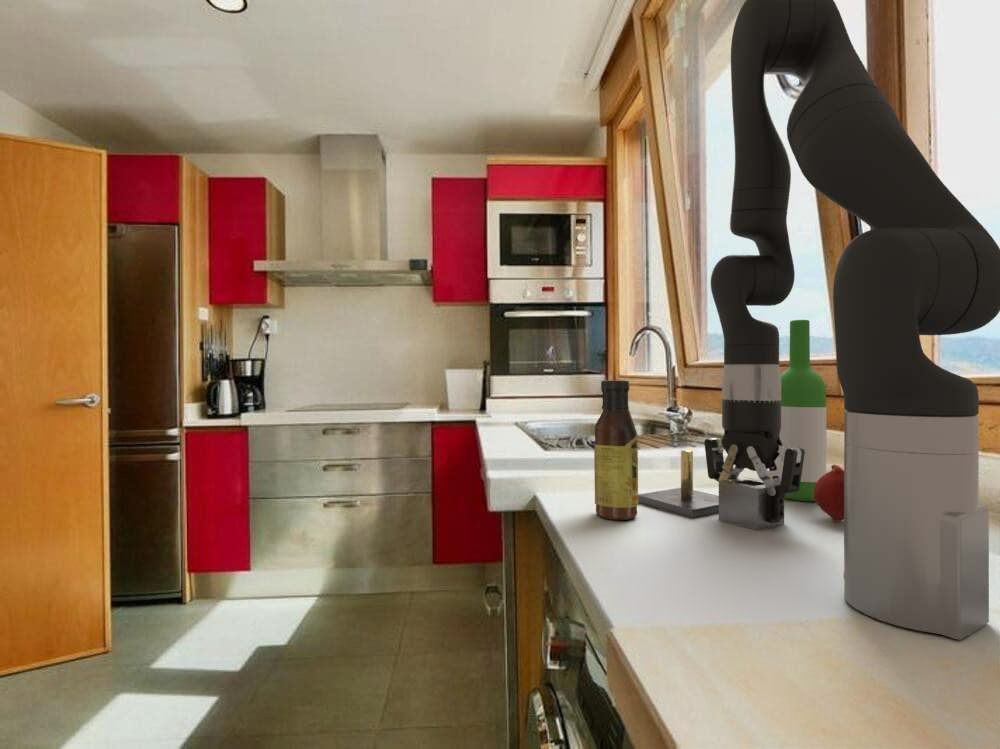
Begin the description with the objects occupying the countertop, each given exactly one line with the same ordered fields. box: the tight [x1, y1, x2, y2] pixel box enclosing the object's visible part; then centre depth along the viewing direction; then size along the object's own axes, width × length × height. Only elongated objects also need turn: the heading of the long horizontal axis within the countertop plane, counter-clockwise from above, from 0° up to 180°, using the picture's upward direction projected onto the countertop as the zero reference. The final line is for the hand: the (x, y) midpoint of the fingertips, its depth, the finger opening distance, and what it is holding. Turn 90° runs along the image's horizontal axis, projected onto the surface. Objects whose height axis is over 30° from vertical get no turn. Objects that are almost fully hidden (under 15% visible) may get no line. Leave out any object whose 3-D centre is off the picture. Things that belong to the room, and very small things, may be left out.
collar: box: [718, 476, 785, 531], centre depth 73 cm, size 6×6×6 cm
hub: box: [638, 449, 719, 519], centre depth 83 cm, size 11×11×9 cm
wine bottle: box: [776, 319, 827, 502], centre depth 88 cm, size 8×8×30 cm
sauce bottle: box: [593, 379, 639, 521], centre depth 76 cm, size 7×6×20 cm
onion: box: [814, 464, 844, 523], centre depth 74 cm, size 6×6×8 cm
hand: (750, 516), depth 73 cm, fingers closed on collar, 6 cm apart
